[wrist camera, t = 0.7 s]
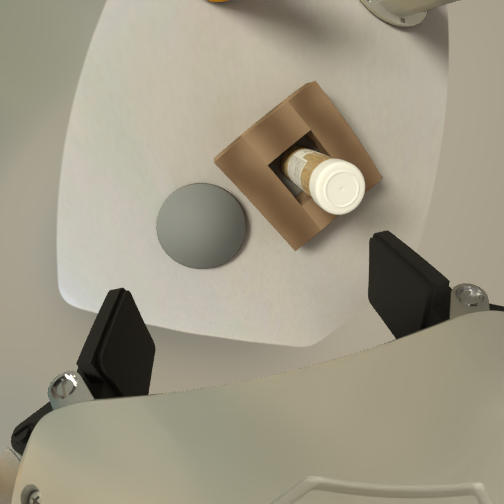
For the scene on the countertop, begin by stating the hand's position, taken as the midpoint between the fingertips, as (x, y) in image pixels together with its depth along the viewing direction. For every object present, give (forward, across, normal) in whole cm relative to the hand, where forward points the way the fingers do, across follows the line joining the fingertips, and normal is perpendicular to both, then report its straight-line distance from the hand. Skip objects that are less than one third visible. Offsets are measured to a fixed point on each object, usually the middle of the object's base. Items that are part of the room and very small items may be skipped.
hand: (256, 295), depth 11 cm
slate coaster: (+26, +4, +6) cm, 27 cm away
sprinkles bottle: (+26, -9, +1) cm, 28 cm away
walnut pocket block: (+26, -9, +1) cm, 27 cm away
